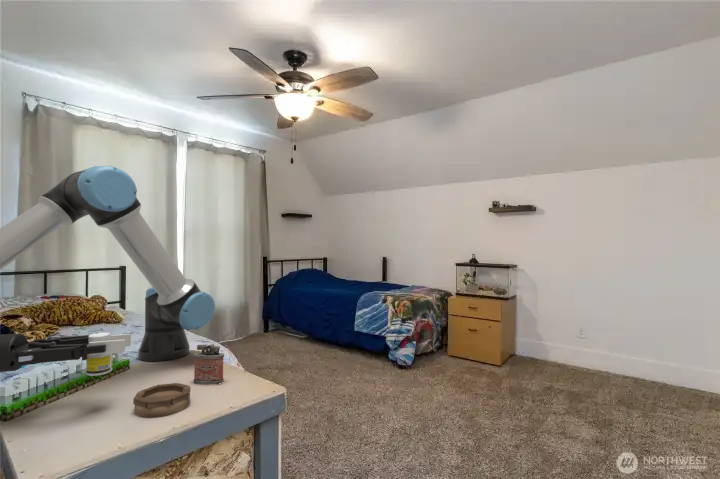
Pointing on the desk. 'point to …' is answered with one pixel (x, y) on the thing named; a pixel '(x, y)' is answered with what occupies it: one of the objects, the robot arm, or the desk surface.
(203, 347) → the lighter
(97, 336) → the supplement bottle
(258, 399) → the desk surface
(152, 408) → the coaster stand
